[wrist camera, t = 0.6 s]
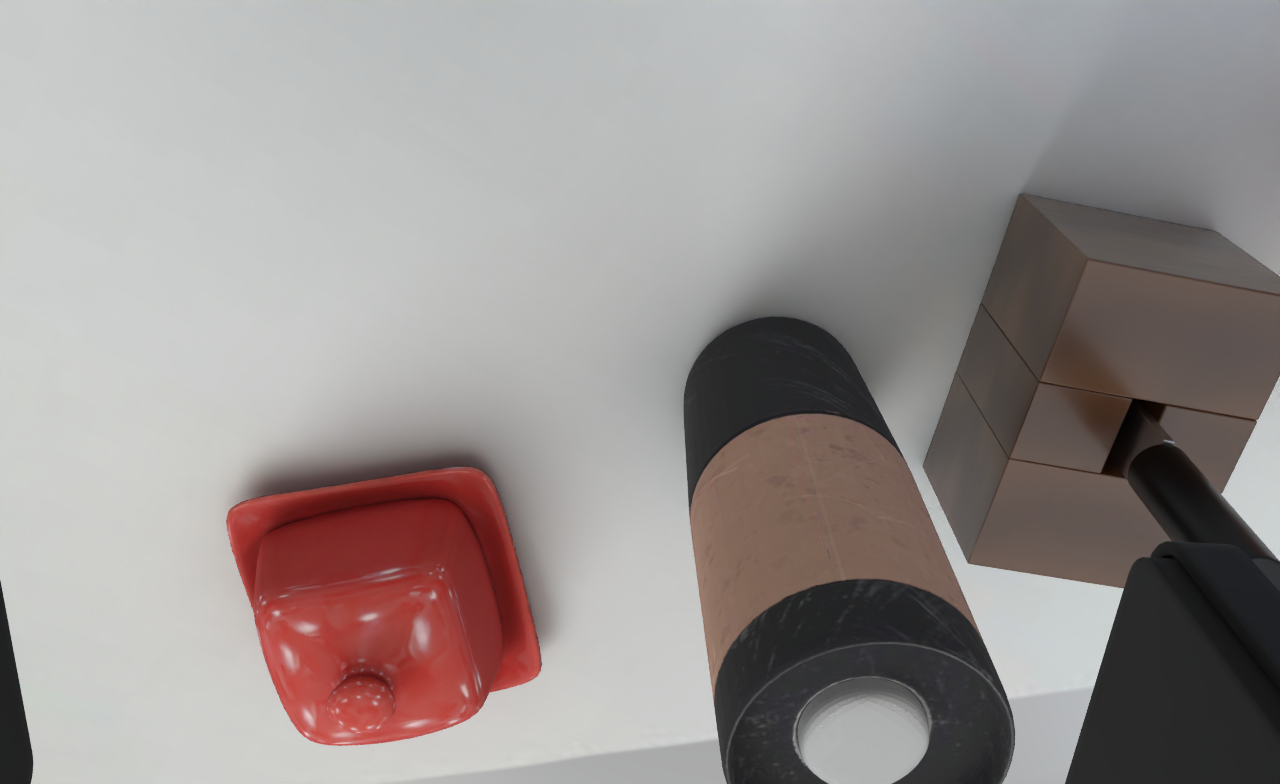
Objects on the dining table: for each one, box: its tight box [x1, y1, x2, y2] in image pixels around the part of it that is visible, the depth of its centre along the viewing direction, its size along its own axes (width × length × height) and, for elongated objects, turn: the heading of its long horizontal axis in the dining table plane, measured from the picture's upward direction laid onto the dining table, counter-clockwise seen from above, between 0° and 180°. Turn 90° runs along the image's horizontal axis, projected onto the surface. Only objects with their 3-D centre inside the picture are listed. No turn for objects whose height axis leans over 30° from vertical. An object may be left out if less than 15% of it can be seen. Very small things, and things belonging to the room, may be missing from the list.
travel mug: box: [684, 317, 1015, 784], centre depth 39 cm, size 8×8×20 cm
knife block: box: [923, 194, 1280, 588], centre depth 44 cm, size 12×8×7 cm, turn 169°
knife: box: [1108, 398, 1280, 592], centre depth 40 cm, size 2×2×16 cm
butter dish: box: [226, 467, 542, 746], centre depth 47 cm, size 12×12×8 cm
